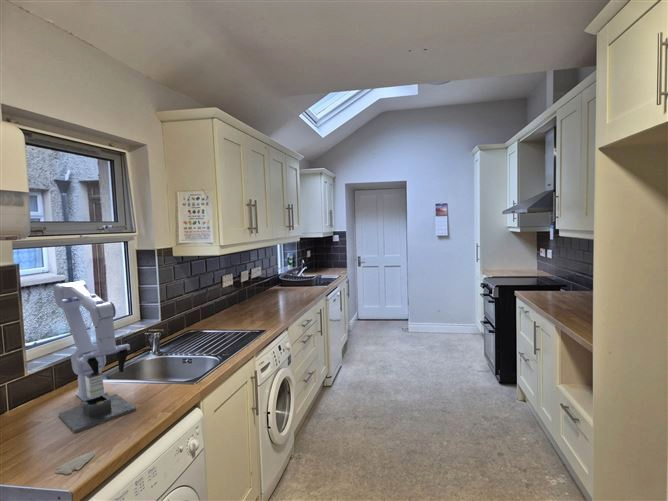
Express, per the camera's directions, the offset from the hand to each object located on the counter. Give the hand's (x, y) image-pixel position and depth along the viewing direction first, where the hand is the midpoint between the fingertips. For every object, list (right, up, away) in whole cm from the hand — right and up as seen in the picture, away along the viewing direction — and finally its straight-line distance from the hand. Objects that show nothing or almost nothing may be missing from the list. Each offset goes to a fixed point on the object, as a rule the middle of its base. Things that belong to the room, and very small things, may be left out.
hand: (109, 375), depth 139 cm
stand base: (-1, -11, -6) cm, 13 cm away
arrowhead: (+11, -13, -35) cm, 39 cm away
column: (-1, -5, -7) cm, 8 cm away
